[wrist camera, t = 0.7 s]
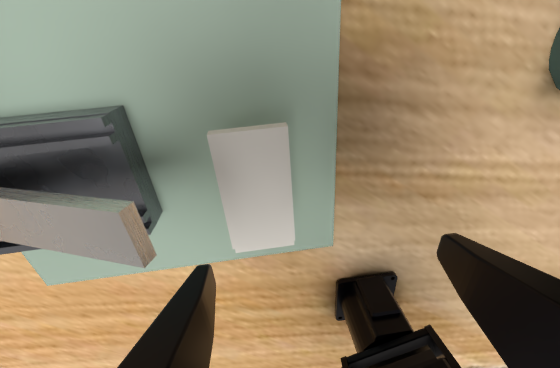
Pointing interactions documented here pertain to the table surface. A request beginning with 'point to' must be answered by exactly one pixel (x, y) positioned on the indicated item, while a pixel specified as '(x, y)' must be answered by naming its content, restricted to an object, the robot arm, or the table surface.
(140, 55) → the board
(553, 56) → the bracket
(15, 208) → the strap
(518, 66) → the table surface
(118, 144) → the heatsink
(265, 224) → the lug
